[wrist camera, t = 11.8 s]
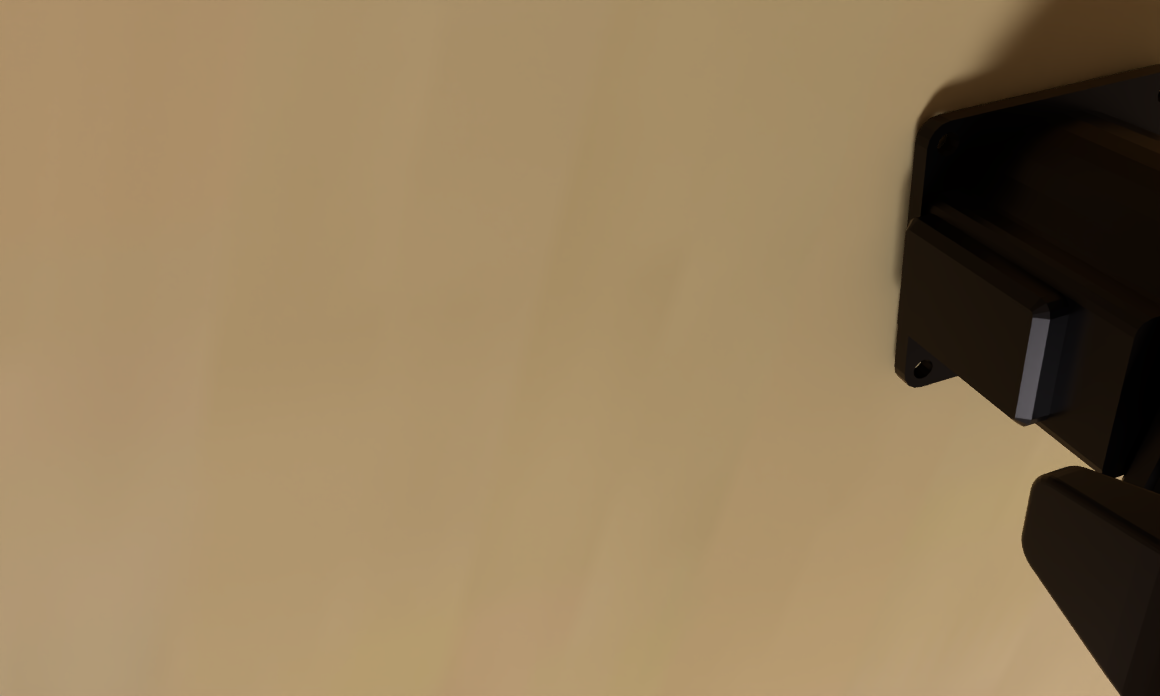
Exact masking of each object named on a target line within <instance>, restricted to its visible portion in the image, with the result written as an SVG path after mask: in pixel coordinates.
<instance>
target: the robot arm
mask: <svg viewBox="0 0 1160 696" xmlns="http://www.w3.org/2000/svg"><path fill="white" fill-rule="evenodd" d="M1159 91H1160V64H1158V65H1153V66H1149V67H1145V68H1140V69H1136V70H1132V71H1127V72H1123V73H1118V74H1114V75H1110V76H1105V77H1101V78H1097V79H1092V80H1088V81H1083V82H1079V83H1075V84H1070V85H1066V86H1062V87H1057V88H1053V89H1049V90H1044V91H1040V92H1035V93H1031V94H1027V95H1022V96H1018V97H1014V98H1009V99H1005V100H1000V101H996V102H992V103H987V104H983V105H979V106H974V107H970V108H966V109H961V110H957V111H952V112H948V113H944V114H939V115H937V116H935V117H932V118H930V119H929V120H928V121H927V122H926V123H925V124H924V125H923V126H922V128H921V129H920V131H919V132H918V135H917V138H916V142H915V151H914V162H913V173H912V183H911V194H910V205H909V216H908V226H907V230H906V236H905V247H904V258H903V268H902V279H901V290H900V301H899V312H898V322H897V323H898V334H897V344H896V355H895V373H896V374H897V375H898V377H899V378H901V379H902V380H903V381H904V382H905V383H906V384H907V385H909V386H911V387H914V388H916V387H922V386H926V385H929V384H932V383H936V382H939V381H942V380H946V379H949V378H952V377H956V376H959V377H960V378H961V379H963V380H964V381H965V382H966V383H968V384H969V385H970V386H971V387H973V388H974V389H975V390H976V391H977V392H979V393H980V394H981V395H982V396H984V397H985V398H986V399H987V400H989V401H990V402H991V403H992V404H994V405H995V406H996V407H997V408H999V409H1000V410H1001V411H1002V412H1004V413H1005V414H1006V415H1007V416H1008V417H1010V418H1011V419H1012V420H1014V421H1015V422H1016V423H1018V424H1019V425H1021V426H1028V425H1031V424H1034V423H1035V424H1037V425H1038V426H1039V427H1041V428H1042V429H1043V430H1044V431H1046V432H1047V433H1048V434H1049V435H1051V436H1052V437H1053V438H1054V439H1056V440H1057V441H1058V442H1060V443H1061V444H1062V445H1063V446H1065V447H1066V448H1067V449H1068V450H1070V451H1071V452H1072V453H1073V454H1075V455H1076V456H1077V457H1079V458H1080V459H1081V460H1082V461H1084V462H1085V463H1086V464H1087V465H1089V466H1090V467H1091V468H1092V469H1094V470H1095V471H1093V470H1090V469H1087V468H1084V467H1081V466H1068V467H1064V468H1061V469H1058V470H1055V471H1052V472H1049V473H1047V474H1044V475H1041V476H1039V477H1038V478H1037V479H1036V480H1035V481H1034V482H1033V484H1032V487H1031V491H1030V496H1029V501H1028V506H1027V511H1026V516H1025V521H1024V526H1023V532H1022V539H1021V540H1022V548H1023V551H1024V554H1025V557H1026V559H1027V561H1028V563H1029V564H1030V566H1031V568H1032V569H1033V570H1034V572H1035V573H1036V575H1037V576H1038V578H1039V579H1040V581H1041V582H1042V584H1043V585H1044V586H1045V588H1046V589H1047V591H1048V592H1049V594H1050V595H1051V597H1052V598H1053V600H1054V601H1055V602H1056V604H1057V605H1058V607H1059V608H1060V610H1061V611H1062V613H1063V614H1064V616H1065V617H1066V618H1067V620H1068V621H1069V623H1070V624H1071V626H1072V627H1073V629H1074V630H1075V632H1076V633H1077V634H1078V636H1079V637H1080V639H1081V640H1082V642H1083V643H1084V645H1085V646H1086V648H1087V649H1088V650H1089V652H1090V653H1091V655H1092V656H1093V658H1094V659H1095V661H1096V662H1097V664H1098V665H1099V666H1100V668H1101V669H1102V671H1103V672H1104V674H1105V675H1106V676H1107V678H1108V679H1109V681H1110V682H1111V683H1112V685H1113V686H1114V687H1115V689H1116V690H1117V691H1118V693H1119V694H1120V696H1160V92H1159ZM945 134H947V137H946V140H945V142H944V144H943V145H942V146H941V147H940V148H937V147H938V144H939V141H940V139H941V138H942V137H943V136H944V135H945ZM919 362H921V363H920V364H919V365H918V363H919ZM917 365H918V367H916V366H917ZM915 367H916V368H915ZM1122 475H1124V476H1123V478H1122V480H1119V479H1116V477H1119V476H1122Z"/></svg>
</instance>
